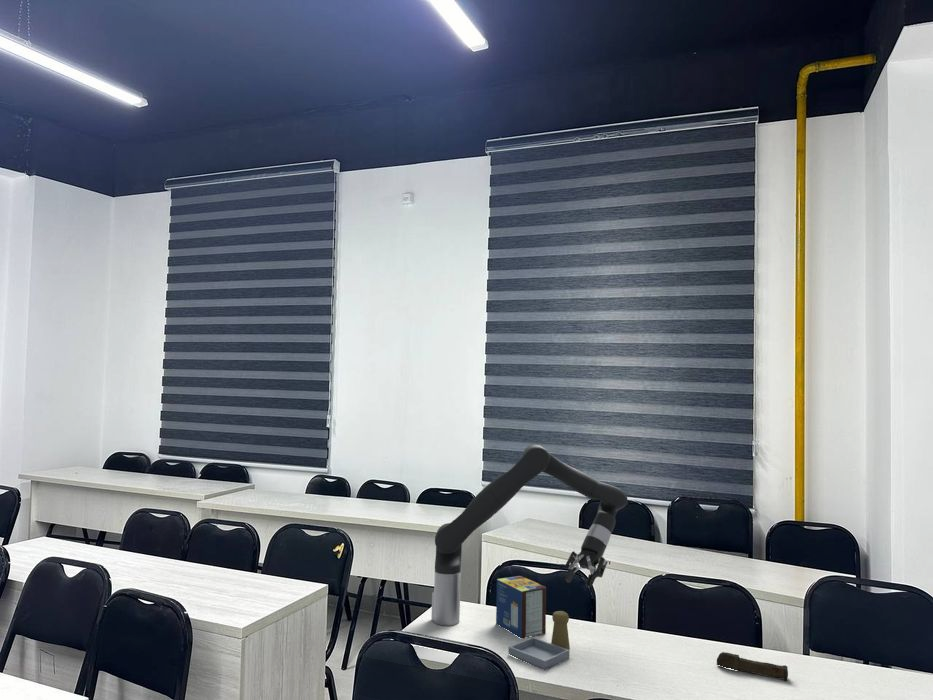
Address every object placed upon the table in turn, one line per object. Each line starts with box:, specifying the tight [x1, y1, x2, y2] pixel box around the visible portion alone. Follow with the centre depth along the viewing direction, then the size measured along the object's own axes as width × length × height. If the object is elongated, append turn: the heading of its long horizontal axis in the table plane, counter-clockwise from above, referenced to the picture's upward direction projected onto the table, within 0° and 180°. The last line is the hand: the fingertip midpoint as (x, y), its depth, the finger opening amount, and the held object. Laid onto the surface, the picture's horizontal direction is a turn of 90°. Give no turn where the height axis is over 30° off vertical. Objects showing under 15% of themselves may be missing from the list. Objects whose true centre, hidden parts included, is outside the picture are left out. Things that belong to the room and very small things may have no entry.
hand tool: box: [716, 651, 789, 682], centre depth 182 cm, size 19×4×5 cm, turn 62°
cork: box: [550, 610, 571, 651], centre depth 197 cm, size 6×6×11 cm
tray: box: [508, 636, 570, 671], centre depth 189 cm, size 14×12×3 cm
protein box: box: [495, 575, 547, 639], centre depth 213 cm, size 10×15×16 cm
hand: (577, 584), depth 204 cm, fingers open, 8 cm apart
